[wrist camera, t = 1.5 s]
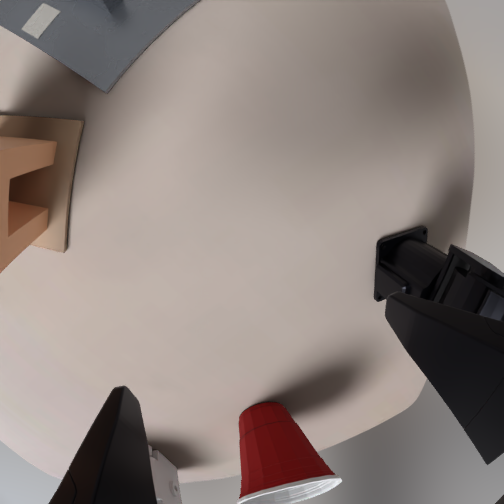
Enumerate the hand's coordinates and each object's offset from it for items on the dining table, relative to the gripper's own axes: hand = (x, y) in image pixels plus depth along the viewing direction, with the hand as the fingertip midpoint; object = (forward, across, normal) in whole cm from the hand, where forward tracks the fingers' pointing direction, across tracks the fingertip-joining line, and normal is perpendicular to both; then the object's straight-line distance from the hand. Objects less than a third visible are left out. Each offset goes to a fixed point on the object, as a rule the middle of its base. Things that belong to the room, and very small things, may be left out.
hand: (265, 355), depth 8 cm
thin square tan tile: (+13, +12, -8) cm, 19 cm away
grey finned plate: (+13, +5, -20) cm, 24 cm away
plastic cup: (+12, +1, +24) cm, 27 cm away
